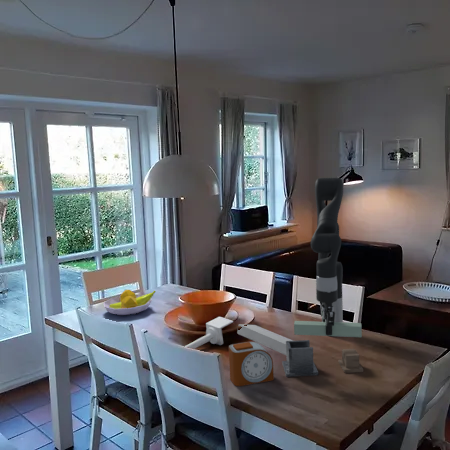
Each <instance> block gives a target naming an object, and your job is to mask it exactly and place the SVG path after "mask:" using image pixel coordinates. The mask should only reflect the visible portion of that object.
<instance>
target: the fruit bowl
mask: <svg viewBox="0 0 450 450" xmlns="http://www.w3.org/2000/svg"><path fill="white" fill-rule="evenodd" d="M155 293H156V290H153V291H152V292H150V293H146V294H136V293H135V292H133V291H132V290H131V289H125V290H123V292H121V294H120V295H119V296H115V297H111V298H109V299H107V300H105V301H104V302H103V307H104V308H105V310H106V312H109V313H110V314H114V315H116V314H117V316H130V314H134V315H137V314H139V313H140V312H143V311H145V310H147V309H148V308H149V307H150V305H151V304H152V302H153V299H152V297H154V294H155ZM136 313H137V314H136Z"/></svg>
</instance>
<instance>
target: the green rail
mask: <svg viewBox="0 0 450 450" xmlns="http://www.w3.org/2000/svg"><path fill="white" fill-rule="evenodd" d="M362 328H363V327H362V323H361V322H346V321H345V322H344V321H343V322H334V326H332V335H326V325H325V322H322V321H313V320H312V321H311V320H308V321H307V320H294V323H293V331H294V332H293V333H294V334H293V335H297V336H299V335H300V336H317V337H318V336H320V337H321V336H322V337H342V338H344V337H346V338H347V337H348V338H362V335H363V333H362V331H363V330H362Z"/></svg>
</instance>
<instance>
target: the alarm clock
mask: <svg viewBox="0 0 450 450" xmlns="http://www.w3.org/2000/svg"><path fill="white" fill-rule="evenodd" d="M228 359H229V360H228V361H229V363H228V364H229V380H230V381H231V382H232V384H233V386H236V387H245V386H250V385H254V384H255V385H256V384H260V383H265V382H271V381H274V378H275V377H274V374H275V373H274V361H273V357H272V355H271V354H270V353H269V352H268V351H267V350H266V349H265V348H264V347H263V345H262V344H259V343H257V342H255V341H247V342H246V341H245V342H238V343H232V344H230V345H228Z"/></svg>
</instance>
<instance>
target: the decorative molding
mask: <svg viewBox="0 0 450 450" xmlns="http://www.w3.org/2000/svg"><path fill="white" fill-rule="evenodd" d="M244 325H245V324H243V323H242V324H241V323H238V326H241V327H242V328H241V329H240V330H238V329H237V331H236V333H237V334H238V335H239V336H242V337H244V338H246V339H248V340H251V341H252V342H256V343H258V344H260V345H261V346H264V347H267V348H269V349H271V350H273V351H274V352H277V353H280V354H282V355H284V356H286V341H294V340H293V339H290V338H288V337H285V336H284V335H280V334H278V333H276V332H273V331H271V330H268V329H266V328H263V327H261V326H259V325H256V324H246V325H247V326H244Z"/></svg>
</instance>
